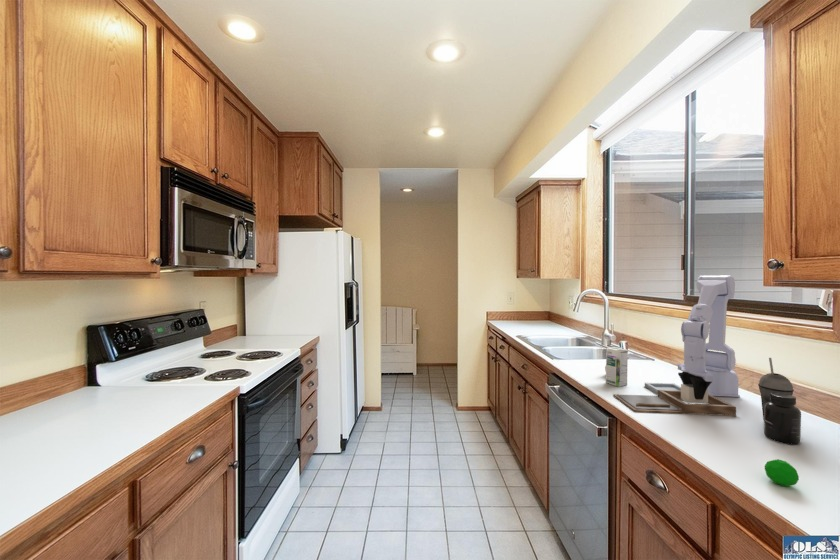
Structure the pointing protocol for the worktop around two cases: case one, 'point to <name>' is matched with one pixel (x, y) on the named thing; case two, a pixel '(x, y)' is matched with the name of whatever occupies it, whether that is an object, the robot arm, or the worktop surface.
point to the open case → (675, 404)
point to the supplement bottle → (782, 419)
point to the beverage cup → (773, 386)
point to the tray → (662, 386)
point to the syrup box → (616, 366)
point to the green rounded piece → (781, 472)
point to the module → (691, 394)
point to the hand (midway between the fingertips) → (694, 396)
